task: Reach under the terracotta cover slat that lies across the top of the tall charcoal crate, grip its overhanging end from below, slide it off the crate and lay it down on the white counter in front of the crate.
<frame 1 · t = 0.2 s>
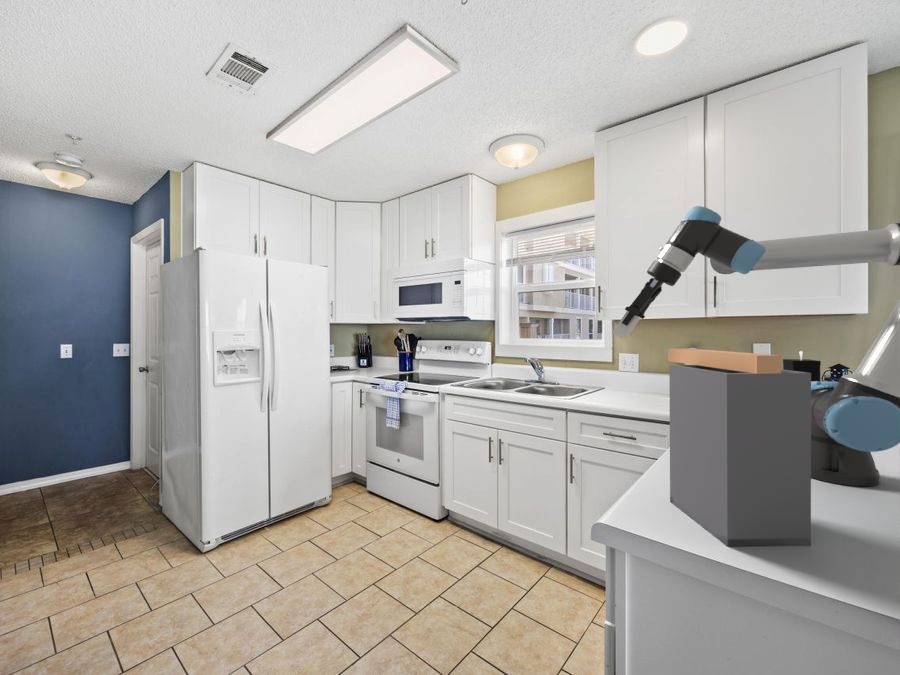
hand: (619, 335, 111), 35 cm above the counter, tool tilted 35°, fingers open, 13 cm apart
cover slat: (714, 366, 83), point 29 cm above the counter, touching charcoal crate
charcoal crate: (732, 521, 78), on the counter
tissue box: (801, 430, 146), on the counter
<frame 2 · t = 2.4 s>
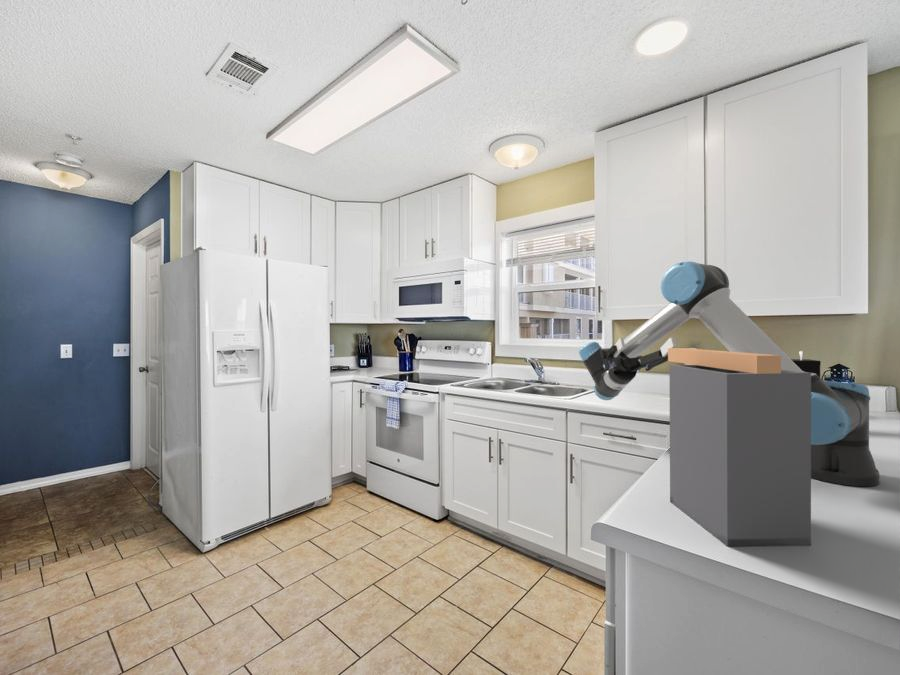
hand: (648, 341, 110), 33 cm above the counter, tool pointing upward, fingers open, 13 cm apart
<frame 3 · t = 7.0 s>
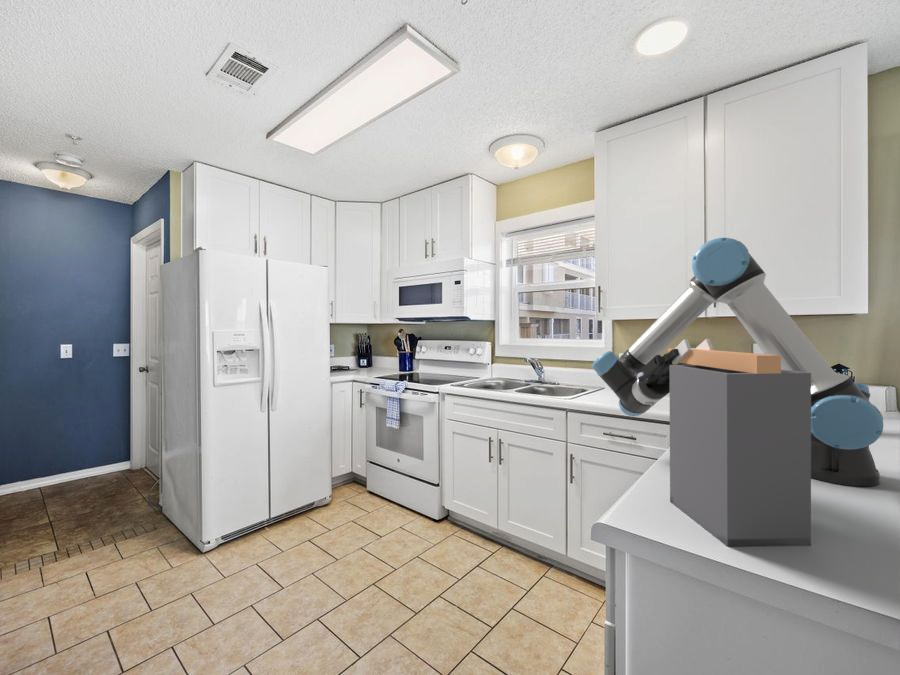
hand: (698, 344, 88), 33 cm above the counter, tool pointing upward, fingers closed on cover slat, 4 cm apart
cover slat: (714, 366, 83), point 29 cm above the counter, touching charcoal crate, gripper
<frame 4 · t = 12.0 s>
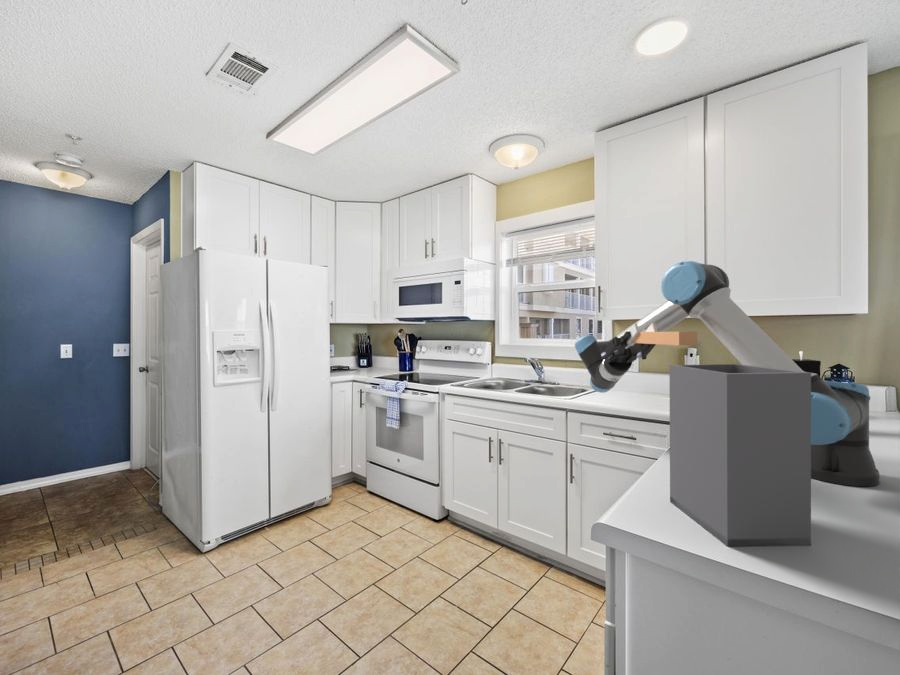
hand: (645, 327, 109), 37 cm above the counter, tool pointing upward, fingers closed on cover slat, 4 cm apart
cover slat: (656, 343, 104), point 33 cm above the counter, touching gripper
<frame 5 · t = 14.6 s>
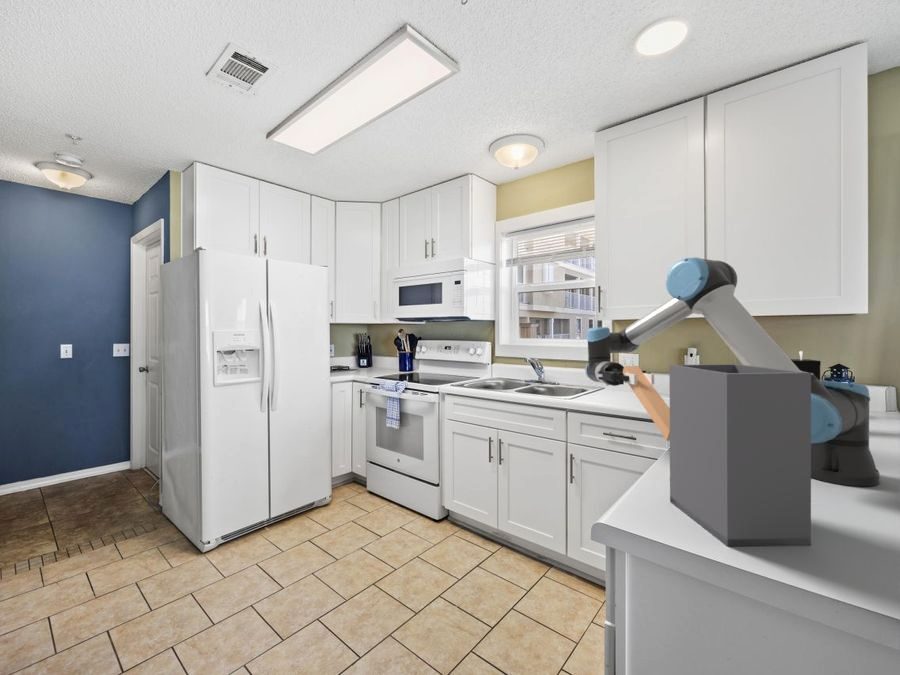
hand: (644, 379, 113), 23 cm above the counter, tool horizontal, fingers closed on cover slat, 4 cm apart
cover slat: (649, 403, 110), point 16 cm above the counter, tilted 28°, touching gripper
when the fingers open (14 cm above the counter, at t = 16.8 s): cover slat drops 9 cm, on the counter.
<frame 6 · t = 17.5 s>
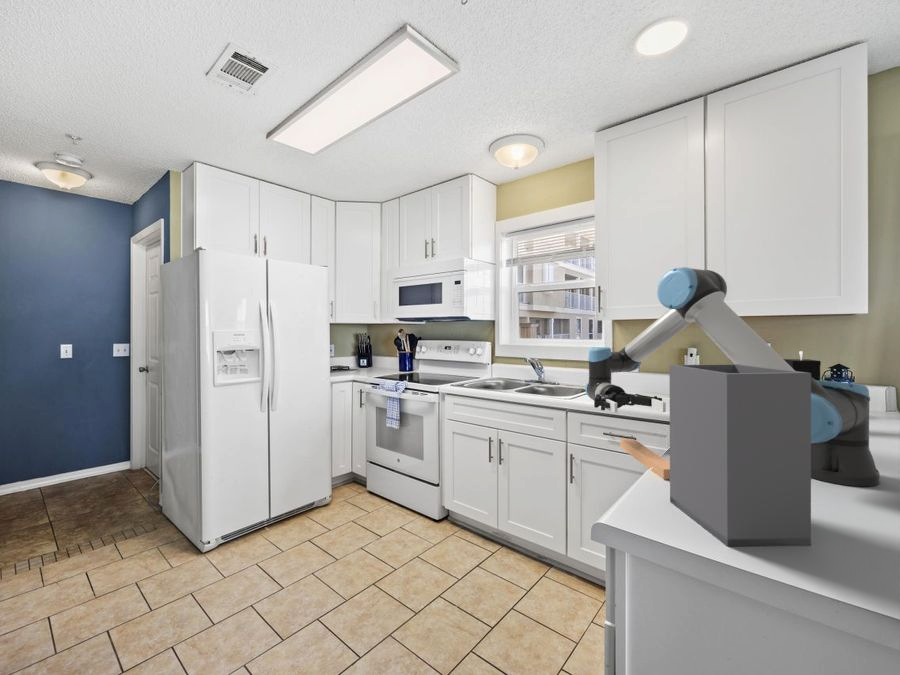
hand: (640, 407, 115), 14 cm above the counter, tool horizontal, fingers open, 13 cm apart
cover slat: (646, 463, 113), on the counter
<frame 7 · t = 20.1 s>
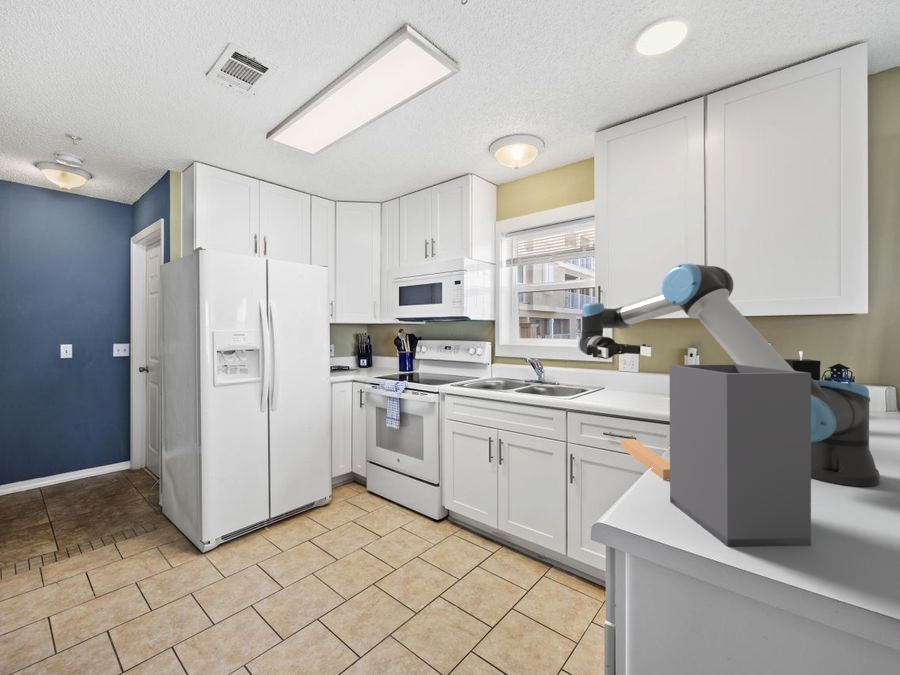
hand: (629, 352, 123), 30 cm above the counter, tool horizontal, fingers open, 13 cm apart
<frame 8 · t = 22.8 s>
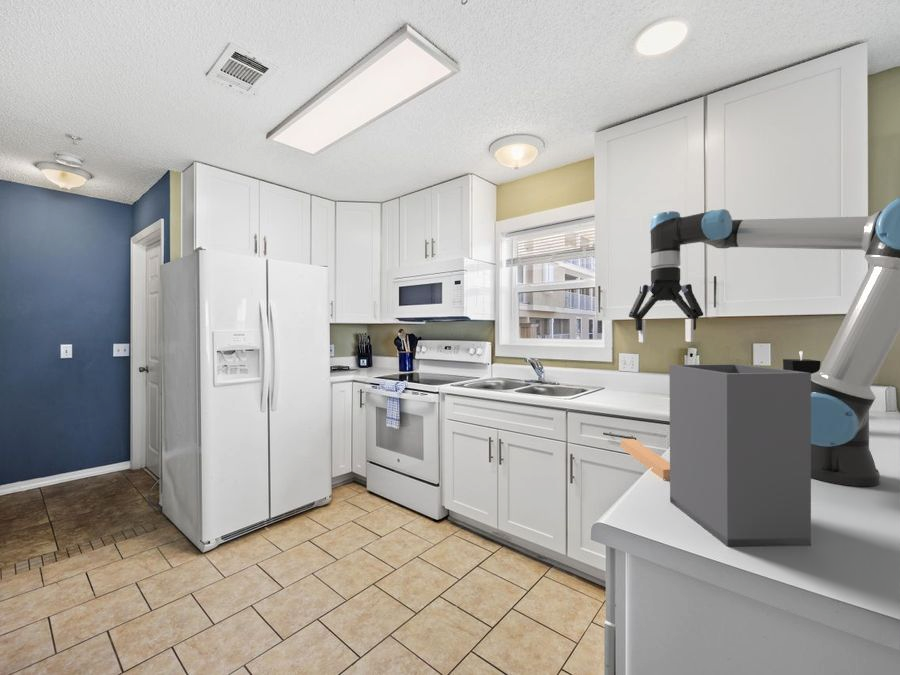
hand: (665, 342, 118), 33 cm above the counter, tool pointing down, fingers open, 13 cm apart
at the end: cover slat on the counter; cover slat touching counter; the gripper is holding nothing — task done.
